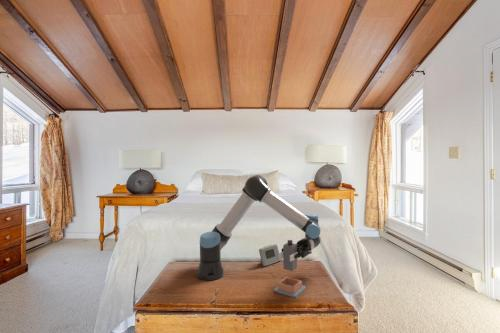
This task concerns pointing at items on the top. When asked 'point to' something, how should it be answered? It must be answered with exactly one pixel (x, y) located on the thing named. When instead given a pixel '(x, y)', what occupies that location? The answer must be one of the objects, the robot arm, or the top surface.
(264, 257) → the digital clock
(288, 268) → the bottle
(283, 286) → the end holder
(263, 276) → the top surface
